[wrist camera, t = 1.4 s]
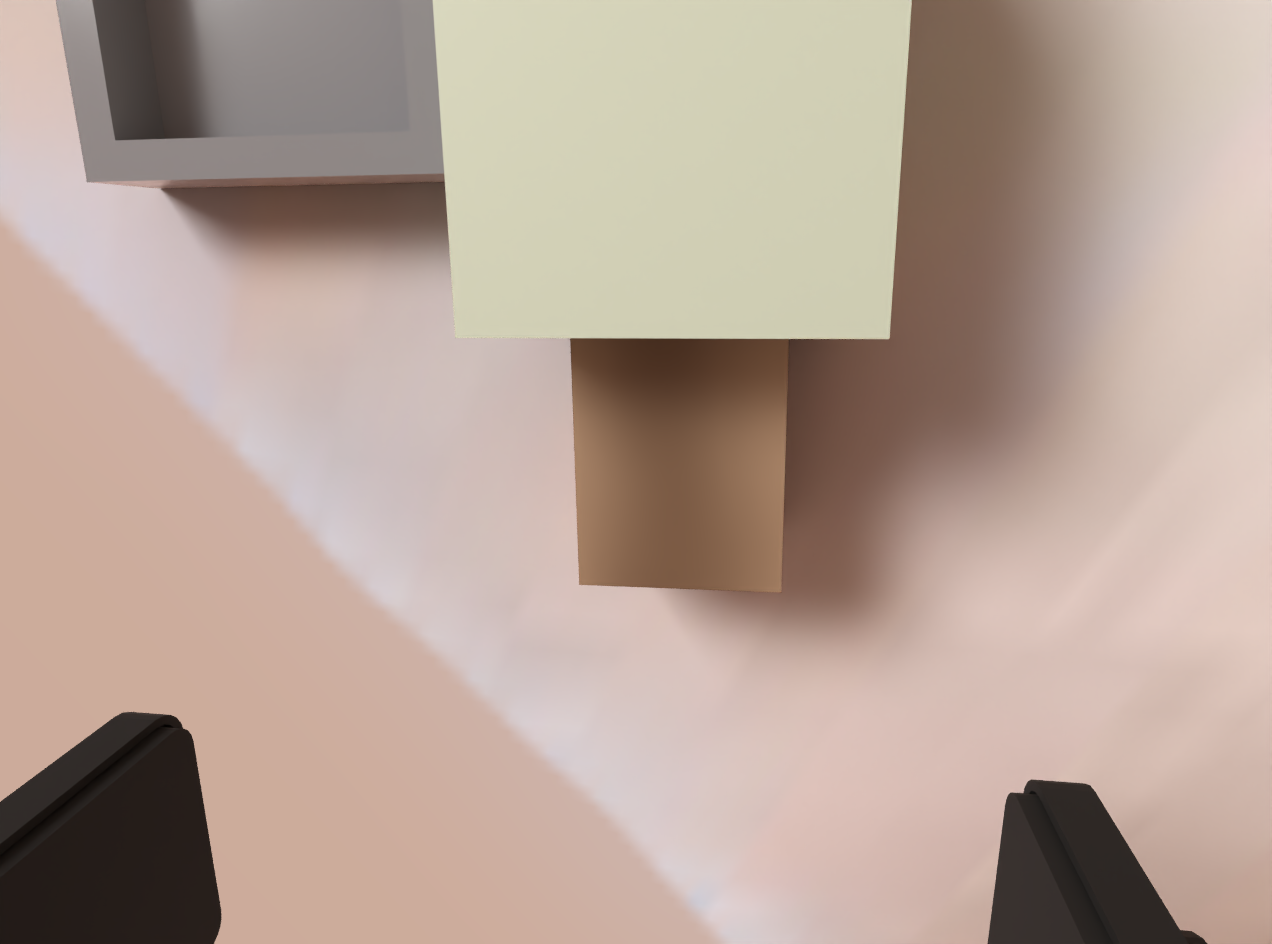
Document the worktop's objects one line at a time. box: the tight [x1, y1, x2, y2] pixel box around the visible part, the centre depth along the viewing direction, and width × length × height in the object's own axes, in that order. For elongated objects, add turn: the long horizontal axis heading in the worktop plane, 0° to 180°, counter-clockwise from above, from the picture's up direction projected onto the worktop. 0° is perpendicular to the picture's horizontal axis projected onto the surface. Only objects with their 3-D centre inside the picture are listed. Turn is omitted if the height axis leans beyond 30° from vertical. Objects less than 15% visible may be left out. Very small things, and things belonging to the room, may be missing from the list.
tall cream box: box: [433, 0, 912, 339], centre depth 18 cm, size 8×12×8 cm
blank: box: [570, 338, 789, 593], centre depth 22 cm, size 5×10×5 cm, turn 1°
